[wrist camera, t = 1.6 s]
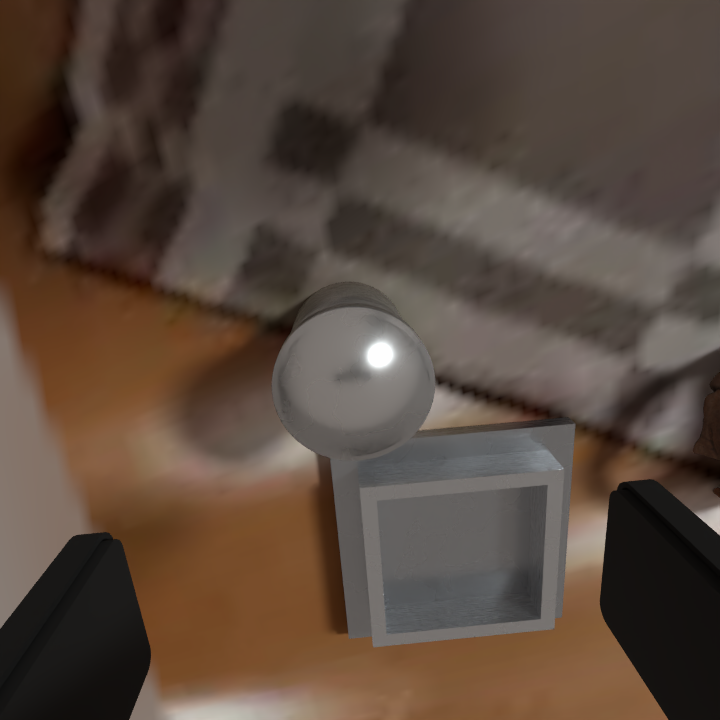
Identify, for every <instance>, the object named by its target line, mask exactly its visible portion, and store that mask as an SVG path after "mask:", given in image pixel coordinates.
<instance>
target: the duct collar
mask: <svg viewBox="0 0 720 720" xmlns="http://www.w3.org/2000/svg"><path fill="white" fill-rule="evenodd" d="M574 434H575V423H574V422H573V421H572V420H571V419H570V418H568V417H567V418H556V419H545V420H534V421H523V422H512V423H501V424H489V425H478V426H467V427H456V428H445V429H434V430H423V431H417V432H416V433H415V434H414V435H413V436H412V437H411V438H410V439H409V440H408V441H407V442H405V443H404V444H403V445H401V446H400V447H398V448H397V449H395V450H393V451H391V452H389V453H387V454H384V455H382V456H379V457H376V458H372V459H367V460H360V461H346V460H337V459H333V458H330V462H331V471H332V481H333V490H334V500H335V509H336V519H337V529H338V538H339V548H340V557H341V567H342V576H343V586H344V595H345V605H346V614H347V624H348V634H349V639H350V638H360V637H370V636H372V640H373V647H380V646H389V645H399V644H409V643H419V642H429V641H439V640H449V639H459V638H469V637H479V636H489V635H499V634H509V633H519V632H529V631H539V630H549V629H554V624H555V618H560V617H562V607H563V593H564V578H565V564H566V549H567V535H568V521H569V506H570V492H571V477H572V463H573V449H574Z"/></svg>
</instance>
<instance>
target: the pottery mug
mask: <svg viewBox="0 0 720 720" xmlns="http://www.w3.org/2000/svg"><path fill="white" fill-rule="evenodd" d="M710 387H711V389H712V390H713V391H714V392H713V393H711V394H709V395H707V396H706V397H705V401H704V407H703V412H704V419H703V429H702V432H701V435H700V438H699V440H698V441H697V442H696V444H695V445H694V448H693V453H695V454H701V455H704V456H707V457H710V458H713V459H717V460H720V372H719V373H718V374H717V375H716V376H715V377H714V378H713V379H712V381H711V383H710ZM713 492H714V493H715V494H716V495H717V496H718V497H719V498H720V488H715V489H714V491H713Z"/></svg>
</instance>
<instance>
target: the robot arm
mask: <svg viewBox="0 0 720 720" xmlns="http://www.w3.org/2000/svg"><path fill="white" fill-rule="evenodd" d="M600 607H601V612H602V615H603V618H604V620H605V622H606V624H607V625H608V627H609V628H610V630H611V631H612V633H613V635H614V636H615V638H616V639H617V641H618V642H619V644H620V645H621V647H622V648H623V650H624V652H625V653H626V655H627V656H628V658H629V659H630V661H631V662H632V664H633V665H634V667H635V669H636V670H637V672H638V673H639V675H640V676H641V678H642V679H643V681H644V682H645V684H646V686H647V687H648V689H649V690H650V692H651V693H652V695H653V696H654V698H655V699H656V701H657V703H658V704H659V706H660V707H661V709H662V710H663V712H664V713H665V715H666V716H667V718H668V719H669V720H720V535H718V534H717V533H716V532H715V531H714V530H713V529H712V528H710V527H709V526H708V525H707V524H706V523H705V522H703V521H702V520H701V519H700V518H699V517H698V516H696V515H695V514H694V513H693V512H692V511H691V510H690V509H688V508H687V507H686V506H685V505H684V504H683V503H681V502H680V501H679V500H678V499H677V498H676V497H675V496H673V495H672V494H671V493H670V492H669V491H668V490H666V489H665V488H664V487H663V486H662V485H661V484H659V483H658V482H657V481H655V480H650V479H649V480H639V481H629V482H622V483H620V484H619V486H618V488H617V491H613V492H612V493H611V494H610V498H609V509H608V520H607V530H606V541H605V552H604V563H603V573H602V584H601V595H600ZM150 660H151V650H150V645H149V641H148V637H147V634H146V630H145V626H144V623H143V619H142V615H141V612H140V608H139V604H138V601H137V597H136V593H135V589H134V586H133V582H132V578H131V575H130V571H129V567H128V564H127V560H126V556H125V553H124V549H123V545H122V543H121V541H120V540H118V539H114V540H113V537H112V536H111V535H110V534H109V533H107V532H103V533H93V534H83V535H76V536H73V537H72V538H71V539H70V540H69V541H68V543H67V544H66V545H65V547H64V548H63V549H62V551H61V552H60V553H59V554H58V555H57V557H56V558H55V559H54V561H53V562H52V563H51V564H50V566H49V567H48V568H47V570H46V571H45V572H44V573H43V575H42V576H41V577H40V579H39V580H38V581H37V582H36V584H35V585H34V586H33V588H32V589H31V590H30V591H29V593H28V594H27V595H26V596H25V598H24V599H23V600H22V602H21V603H20V604H19V606H18V607H17V608H16V609H15V611H14V612H13V613H12V615H11V616H10V617H9V618H8V620H7V621H6V622H5V623H4V625H3V626H2V628H1V629H0V720H129V719H130V716H131V713H132V710H133V708H134V706H135V703H136V701H137V698H138V696H139V693H140V691H141V688H142V685H143V683H144V680H145V678H146V675H147V673H148V670H149V666H150Z"/></svg>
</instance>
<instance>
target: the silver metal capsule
mask: <svg viewBox="0 0 720 720" xmlns="http://www.w3.org/2000/svg"><path fill="white" fill-rule="evenodd" d="M434 393H435V374H434V368H433V364H432V361H431V358H430V356H429V353H428V351H427V349H426V348H425V346H424V344H423V342H422V341H421V339H420V338H419V336H418V335H417V334H416V332H415V331H414V330H413V329H412V328H411V327H410V326H409V325H408V324H407V323H406V322H405V321H404V320H403V319H402V317H401V315H400V314H399V312H398V310H397V308H396V307H395V305H394V304H393V303H392V301H391V300H390V299H389V298H388V297H387V296H386V295H384V294H383V293H382V292H380V291H379V290H377V289H375V288H374V287H371V286H369V285H366V284H362V283H357V282H340V283H335V284H331V285H328V286H326V287H324V288H322V289H320V290H318V291H317V292H315V293H314V294H313V295H311V296H310V297H309V298H308V299H307V300H306V301H305V303H304V304H303V305H302V307H301V308H300V310H299V312H298V314H297V316H296V319H295V322H294V325H293V328H292V331H291V333H290V334H289V336H288V337H287V339H286V340H285V342H284V343H283V345H282V347H281V349H280V352H279V354H278V357H277V360H276V363H275V366H274V370H273V375H272V396H273V401H274V405H275V408H276V411H277V414H278V416H279V418H280V420H281V422H282V423H283V425H284V426H285V428H286V429H287V430H288V432H289V433H290V434H291V435H292V436H293V437H294V438H295V439H296V440H297V441H298V442H300V443H301V444H302V445H303V446H305V447H306V448H308V449H310V450H311V451H313V452H315V453H318V454H320V455H322V456H326V457H329V458H333V459H337V460H346V461H360V460H367V459H372V458H376V457H379V456H382V455H384V454H387V453H389V452H391V451H393V450H395V449H397V448H398V447H400V446H401V445H403V444H404V443H405V442H407V441H408V440H409V439H410V438H411V437H412V436H413V435H414V434H415V433H416V432H417V431H418V430H419V428H420V427H421V426H422V424H423V422H424V421H425V419H426V417H427V415H428V413H429V411H430V409H431V405H432V402H433V398H434Z"/></svg>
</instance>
